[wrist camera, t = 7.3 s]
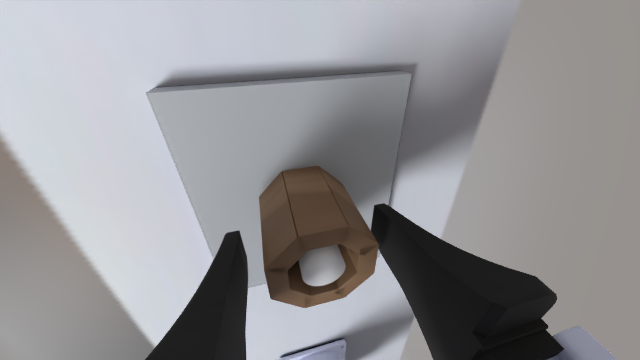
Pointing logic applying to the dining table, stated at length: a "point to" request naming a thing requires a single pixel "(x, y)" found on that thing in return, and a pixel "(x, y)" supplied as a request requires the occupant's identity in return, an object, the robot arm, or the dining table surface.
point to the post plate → (281, 150)
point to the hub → (312, 235)
